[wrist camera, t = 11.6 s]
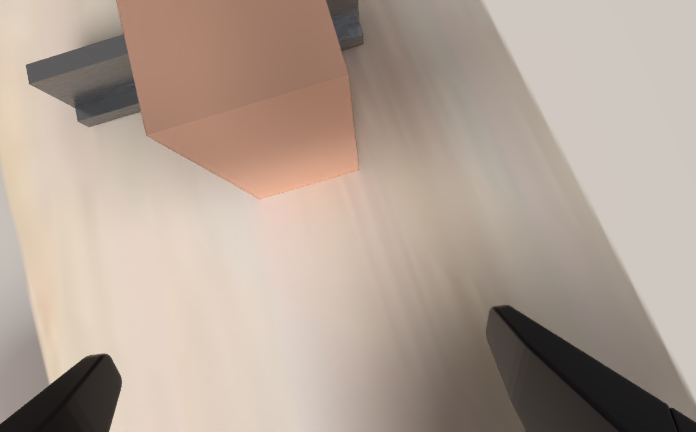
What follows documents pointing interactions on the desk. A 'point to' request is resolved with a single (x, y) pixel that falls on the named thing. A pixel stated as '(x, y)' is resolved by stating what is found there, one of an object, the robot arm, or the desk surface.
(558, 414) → the robot arm
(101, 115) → the rail
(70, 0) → the desk surface
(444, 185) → the desk surface
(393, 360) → the desk surface
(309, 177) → the carton
